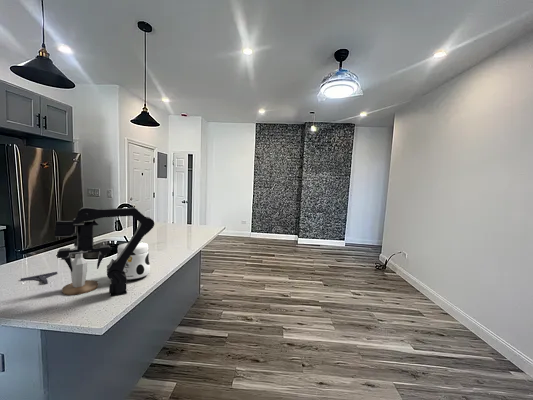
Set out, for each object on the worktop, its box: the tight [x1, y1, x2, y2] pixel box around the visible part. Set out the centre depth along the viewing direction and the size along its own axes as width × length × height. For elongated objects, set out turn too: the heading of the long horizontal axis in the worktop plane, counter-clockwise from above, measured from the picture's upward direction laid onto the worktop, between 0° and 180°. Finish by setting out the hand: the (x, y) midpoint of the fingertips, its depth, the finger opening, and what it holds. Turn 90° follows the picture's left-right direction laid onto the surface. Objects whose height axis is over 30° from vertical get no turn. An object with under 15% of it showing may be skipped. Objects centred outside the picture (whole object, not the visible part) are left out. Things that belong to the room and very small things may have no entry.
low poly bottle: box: [70, 246, 88, 287], centre depth 119 cm, size 6×6×22 cm
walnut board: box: [61, 279, 99, 296], centre depth 119 cm, size 14×14×2 cm
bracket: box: [20, 271, 58, 285], centre depth 127 cm, size 14×15×3 cm
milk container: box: [116, 241, 151, 281], centre depth 137 cm, size 17×17×18 cm
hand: (85, 270), depth 109 cm, fingers open, 9 cm apart
